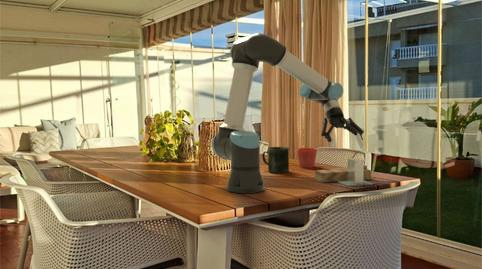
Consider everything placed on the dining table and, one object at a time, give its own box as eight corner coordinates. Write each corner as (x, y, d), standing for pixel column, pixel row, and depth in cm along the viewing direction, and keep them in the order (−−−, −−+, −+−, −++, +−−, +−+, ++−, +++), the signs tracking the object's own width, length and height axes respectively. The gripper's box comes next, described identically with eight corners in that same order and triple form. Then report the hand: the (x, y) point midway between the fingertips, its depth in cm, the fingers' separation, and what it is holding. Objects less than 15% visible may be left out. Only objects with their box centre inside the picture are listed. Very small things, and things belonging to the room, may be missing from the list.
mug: (284, 174, 201) (284, 149, 200) (257, 171, 208) (257, 148, 207) (292, 170, 210) (292, 147, 209) (267, 168, 217) (267, 146, 216)
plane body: (321, 182, 180) (321, 169, 179) (314, 179, 186) (314, 166, 186) (371, 178, 186) (371, 166, 185) (362, 176, 192) (363, 164, 192)
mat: (348, 186, 170) (348, 185, 170) (337, 182, 178) (337, 181, 178) (373, 184, 173) (373, 183, 172) (362, 180, 181) (362, 179, 181)
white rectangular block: (354, 184, 172) (355, 160, 171) (347, 181, 178) (347, 158, 177) (363, 183, 173) (363, 160, 172) (356, 180, 179) (356, 158, 178)
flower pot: (293, 165, 226) (293, 148, 226) (311, 164, 230) (311, 147, 229) (301, 168, 216) (301, 150, 216) (320, 167, 220) (320, 149, 219)
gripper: (354, 117, 200) (370, 151, 187) (306, 117, 195) (319, 152, 181) (360, 106, 195) (377, 140, 182) (311, 106, 189) (324, 142, 176)
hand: (348, 146), depth 181 cm, fingers open, 13 cm apart
